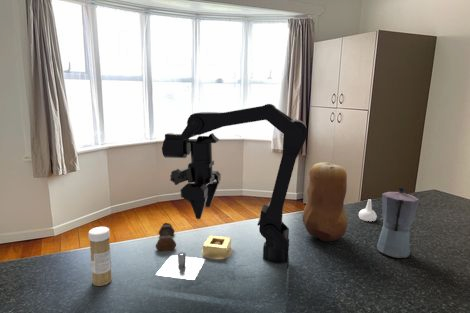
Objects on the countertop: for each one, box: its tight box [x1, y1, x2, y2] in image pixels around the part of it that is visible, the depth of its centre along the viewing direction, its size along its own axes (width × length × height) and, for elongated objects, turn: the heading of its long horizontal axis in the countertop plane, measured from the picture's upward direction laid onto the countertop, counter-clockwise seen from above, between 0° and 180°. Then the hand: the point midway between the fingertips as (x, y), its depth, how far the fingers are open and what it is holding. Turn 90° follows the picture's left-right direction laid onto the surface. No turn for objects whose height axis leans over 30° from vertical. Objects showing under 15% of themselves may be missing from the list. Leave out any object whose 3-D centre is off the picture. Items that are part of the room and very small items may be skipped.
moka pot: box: [376, 186, 420, 259], centre depth 90 cm, size 10×15×20 cm, turn 155°
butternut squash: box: [302, 161, 348, 243], centre depth 98 cm, size 14×13×25 cm
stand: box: [201, 242, 234, 260], centre depth 89 cm, size 9×9×4 cm
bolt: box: [155, 222, 177, 252], centre depth 96 cm, size 6×5×15 cm
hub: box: [155, 251, 206, 281], centre depth 80 cm, size 10×10×4 cm
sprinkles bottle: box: [88, 226, 113, 287], centre depth 74 cm, size 5×5×13 cm
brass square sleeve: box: [202, 235, 232, 259], centre depth 89 cm, size 7×7×3 cm
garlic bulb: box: [358, 198, 378, 223], centre depth 117 cm, size 6×6×8 cm
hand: (203, 212), depth 88 cm, fingers open, 9 cm apart
